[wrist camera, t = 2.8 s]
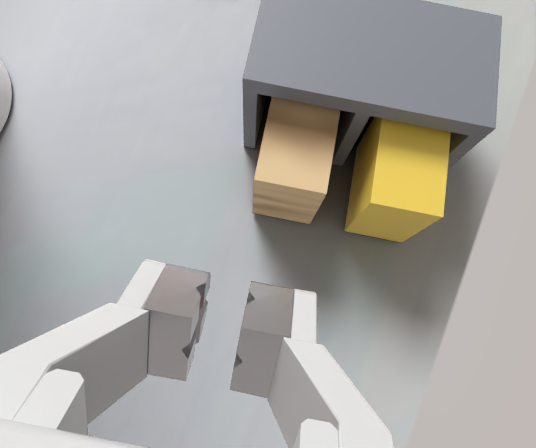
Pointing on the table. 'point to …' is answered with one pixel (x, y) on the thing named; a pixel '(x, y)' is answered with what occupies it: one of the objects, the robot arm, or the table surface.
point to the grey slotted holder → (377, 66)
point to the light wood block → (294, 160)
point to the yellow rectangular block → (398, 180)
